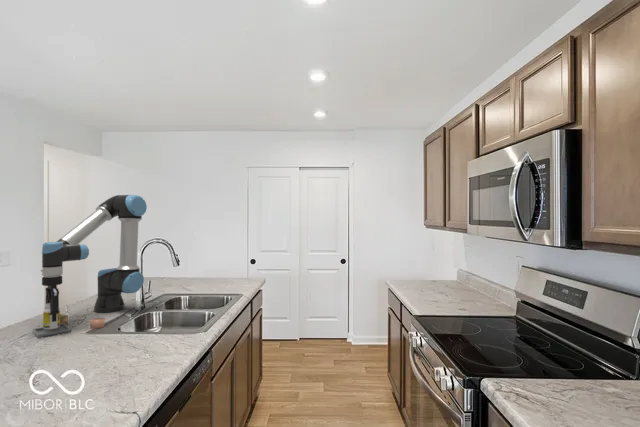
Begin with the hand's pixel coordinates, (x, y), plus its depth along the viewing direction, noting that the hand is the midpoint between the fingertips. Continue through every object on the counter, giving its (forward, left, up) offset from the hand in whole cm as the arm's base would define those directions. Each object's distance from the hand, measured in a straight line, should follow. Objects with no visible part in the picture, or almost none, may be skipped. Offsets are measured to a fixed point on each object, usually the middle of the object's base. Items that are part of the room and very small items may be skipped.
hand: (51, 326), depth 169 cm
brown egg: (-17, +5, -3) cm, 18 cm away
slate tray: (0, 0, -3) cm, 3 cm away
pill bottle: (0, 0, -1) cm, 1 cm away
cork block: (-5, -10, -3) cm, 11 cm away
